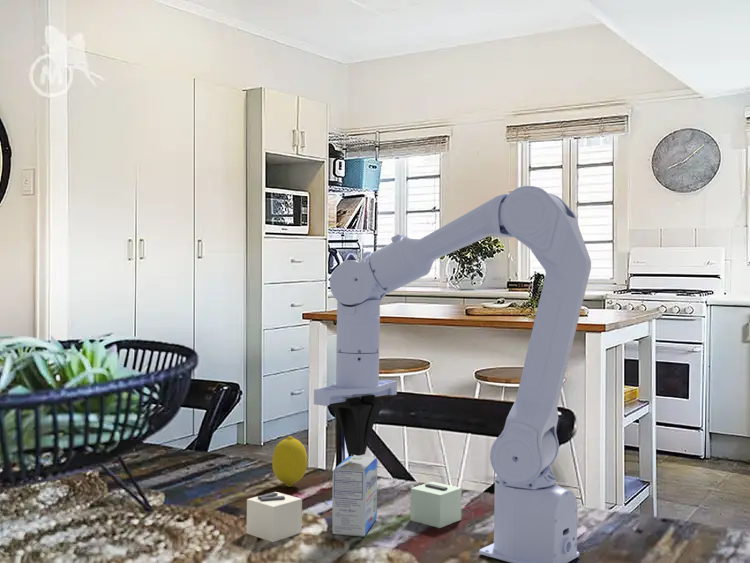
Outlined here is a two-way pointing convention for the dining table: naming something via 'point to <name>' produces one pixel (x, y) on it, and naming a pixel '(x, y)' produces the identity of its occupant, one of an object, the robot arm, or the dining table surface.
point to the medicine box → (354, 496)
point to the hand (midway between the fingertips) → (356, 453)
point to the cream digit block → (274, 516)
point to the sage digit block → (435, 504)
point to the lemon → (289, 461)
